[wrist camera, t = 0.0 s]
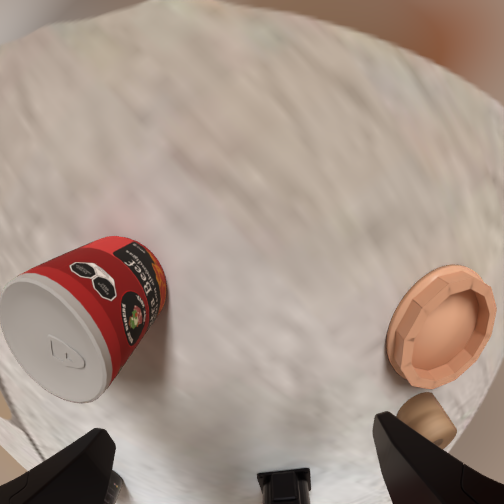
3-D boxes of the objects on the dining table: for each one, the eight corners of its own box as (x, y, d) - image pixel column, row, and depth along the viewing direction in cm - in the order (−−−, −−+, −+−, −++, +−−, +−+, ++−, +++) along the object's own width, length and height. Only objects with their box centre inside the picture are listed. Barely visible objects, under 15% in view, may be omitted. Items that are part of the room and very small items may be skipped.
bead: (429, 415, 25) (449, 448, 19) (393, 428, 26) (410, 464, 20) (438, 386, 24) (462, 420, 18) (400, 399, 24) (421, 438, 19)
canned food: (175, 324, 23) (124, 417, 12) (94, 318, 23) (24, 387, 12) (164, 231, 21) (83, 278, 10) (79, 235, 21) (-16, 274, 11)
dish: (472, 357, 23) (484, 369, 21) (381, 389, 24) (389, 406, 22) (489, 254, 20) (505, 261, 18) (387, 277, 21) (401, 289, 19)
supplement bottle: (98, 479, 31) (76, 528, 20) (78, 456, 30) (49, 508, 18) (131, 487, 31) (111, 541, 19) (111, 464, 29) (84, 522, 18)
